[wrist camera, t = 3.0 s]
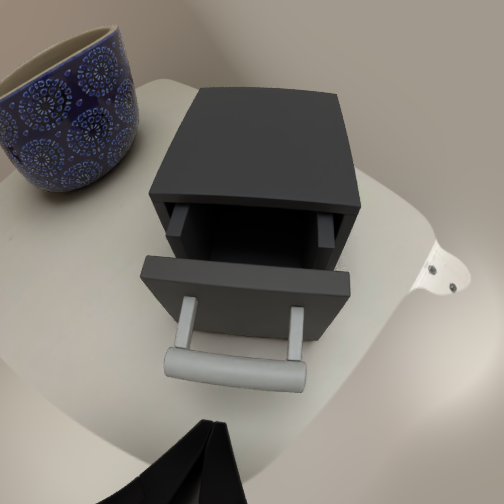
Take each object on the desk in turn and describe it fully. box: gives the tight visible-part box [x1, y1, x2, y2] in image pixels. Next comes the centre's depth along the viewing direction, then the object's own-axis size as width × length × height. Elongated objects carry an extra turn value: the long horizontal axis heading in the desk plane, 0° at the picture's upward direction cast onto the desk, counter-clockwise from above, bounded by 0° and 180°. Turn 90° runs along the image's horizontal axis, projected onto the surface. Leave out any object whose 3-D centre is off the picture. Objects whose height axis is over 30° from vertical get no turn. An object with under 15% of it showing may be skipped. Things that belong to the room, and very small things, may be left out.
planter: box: [0, 25, 139, 192], centre depth 24 cm, size 16×17×15 cm
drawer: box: [140, 202, 350, 393], centre depth 17 cm, size 14×9×8 cm, turn 174°
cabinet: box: [149, 87, 361, 271], centre depth 20 cm, size 11×10×9 cm
